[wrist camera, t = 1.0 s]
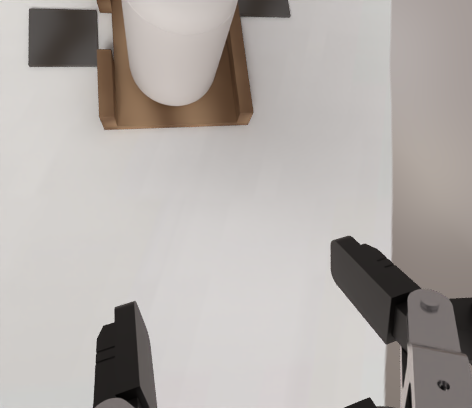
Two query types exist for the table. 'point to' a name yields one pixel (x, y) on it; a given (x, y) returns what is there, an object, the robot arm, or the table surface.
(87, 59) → the lane
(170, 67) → the pill bottle
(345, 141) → the table surface
